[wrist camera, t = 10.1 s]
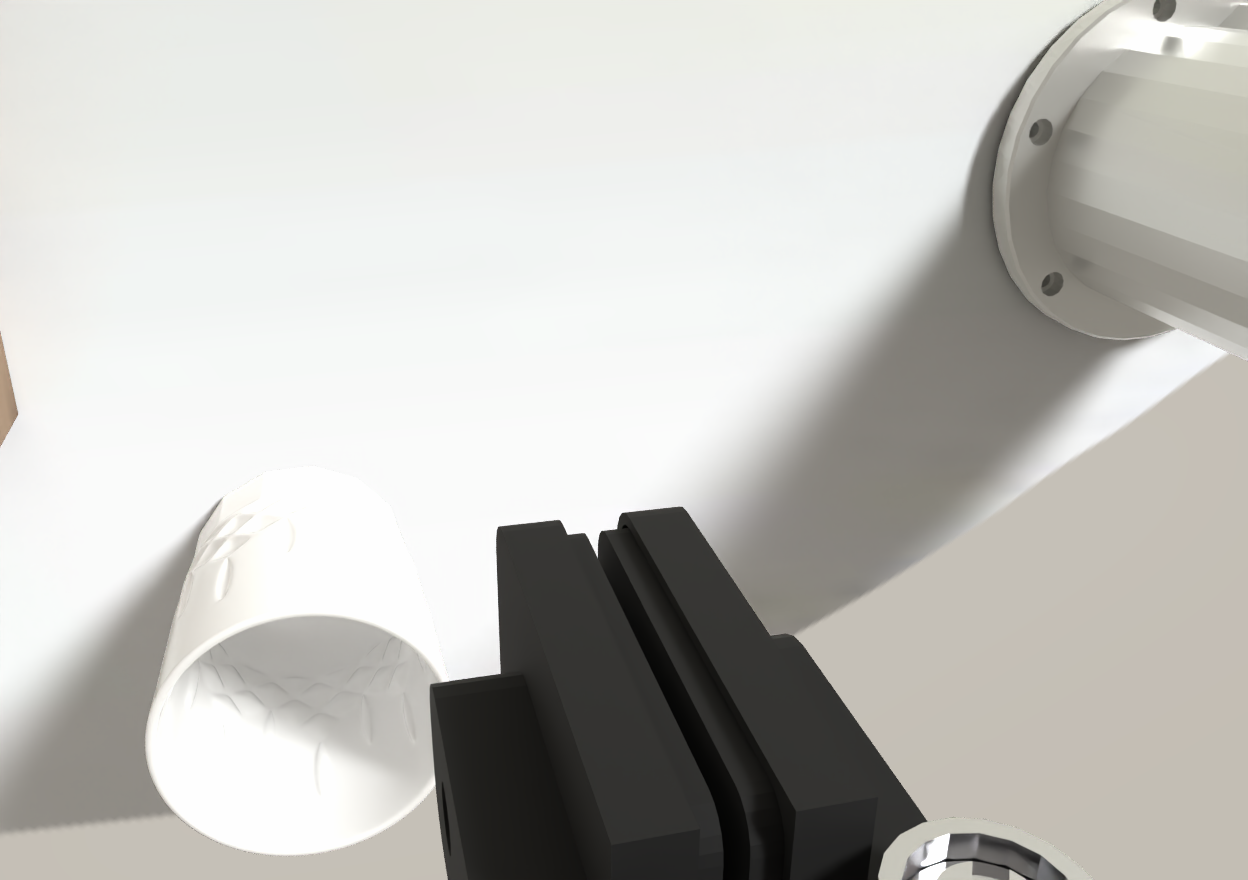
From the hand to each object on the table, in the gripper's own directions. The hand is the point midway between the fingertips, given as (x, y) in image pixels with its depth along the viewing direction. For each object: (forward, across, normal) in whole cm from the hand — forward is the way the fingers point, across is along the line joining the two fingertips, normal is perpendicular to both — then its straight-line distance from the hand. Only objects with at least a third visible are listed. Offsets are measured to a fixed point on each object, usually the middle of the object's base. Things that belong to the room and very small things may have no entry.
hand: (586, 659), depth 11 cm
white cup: (+27, +4, +14) cm, 31 cm away
